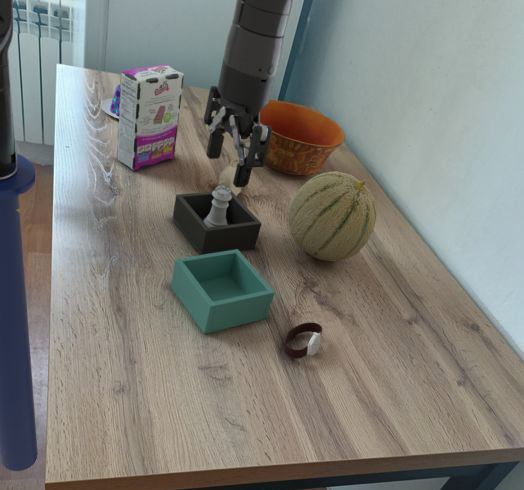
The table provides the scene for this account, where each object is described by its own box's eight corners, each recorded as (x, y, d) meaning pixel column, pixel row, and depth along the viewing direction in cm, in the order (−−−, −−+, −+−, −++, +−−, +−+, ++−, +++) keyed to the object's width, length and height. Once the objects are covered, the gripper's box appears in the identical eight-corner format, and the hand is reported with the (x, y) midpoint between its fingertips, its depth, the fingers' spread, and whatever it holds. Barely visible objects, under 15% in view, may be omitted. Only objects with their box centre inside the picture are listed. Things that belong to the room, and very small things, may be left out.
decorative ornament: (209, 197, 101) (214, 170, 97) (226, 180, 107) (232, 155, 103) (229, 205, 101) (235, 179, 97) (245, 188, 107) (251, 163, 103)
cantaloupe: (269, 227, 99) (291, 149, 88) (338, 230, 104) (367, 157, 94) (296, 278, 89) (324, 198, 79) (371, 278, 95) (406, 203, 85)
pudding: (138, 99, 124) (140, 76, 121) (166, 123, 119) (169, 99, 115) (90, 101, 117) (90, 76, 114) (117, 127, 112) (119, 102, 108)
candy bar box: (156, 148, 110) (166, 63, 98) (174, 159, 108) (186, 74, 97) (114, 159, 102) (119, 69, 91) (133, 171, 101) (140, 81, 89)
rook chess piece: (218, 223, 94) (227, 181, 89) (231, 237, 92) (241, 196, 87) (196, 226, 92) (204, 183, 86) (209, 241, 90) (218, 198, 84)
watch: (301, 369, 74) (309, 350, 72) (273, 351, 75) (280, 332, 73) (326, 342, 80) (334, 324, 77) (299, 325, 81) (306, 307, 78)
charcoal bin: (200, 257, 87) (206, 230, 83) (172, 220, 92) (175, 194, 89) (254, 248, 92) (262, 223, 89) (224, 214, 98) (230, 189, 94)
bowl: (290, 138, 130) (302, 96, 123) (349, 183, 120) (365, 141, 113) (220, 144, 118) (229, 98, 111) (278, 195, 108) (292, 148, 101)
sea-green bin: (204, 334, 74) (210, 306, 71) (170, 286, 80) (175, 258, 76) (266, 318, 80) (275, 292, 77) (231, 275, 85) (237, 248, 82)
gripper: (202, 40, 75) (184, 149, 86) (255, 85, 68) (228, 198, 79) (246, 44, 79) (223, 148, 90) (301, 87, 72) (269, 194, 83)
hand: (225, 171), depth 85 cm, fingers open, 8 cm apart
